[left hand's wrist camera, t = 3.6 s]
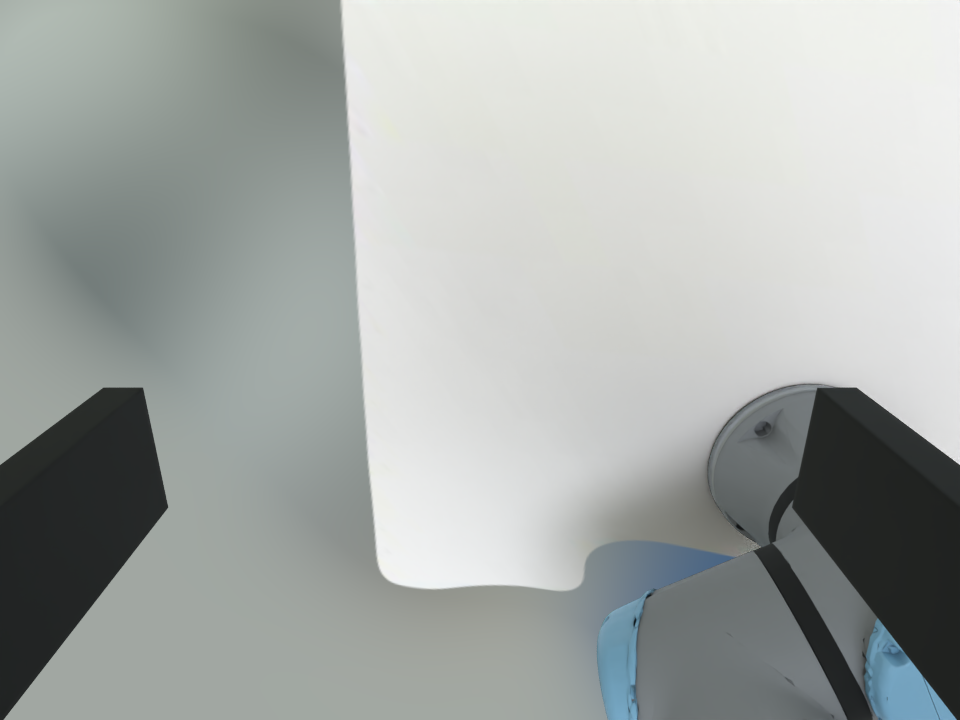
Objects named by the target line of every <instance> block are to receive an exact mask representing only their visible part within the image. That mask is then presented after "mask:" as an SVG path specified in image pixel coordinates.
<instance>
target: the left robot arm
mask: <svg viewBox="0 0 960 720" xmlns="http://www.w3.org/2000/svg"><path fill="white" fill-rule="evenodd" d="M708 481H709V487H710V491H711V493H712V496H713V498H714V500H715V502H716V504H717V505H718V507H719V509H720V511H721V512H722V514H723V515H724V516H725V518H726V519H727V520H728V521H729V522H730V523H731V524H732V525H733V526H734V527H735V528H736V529H737V530H738V531H739V532H740V533H742V534H743V535H744V536H746V537H747V538H749V539H751V540H752V541H754V542H756V543H757V544H758V545H759V546H761V548H759V549H757V550H754V551H751V552H748V553H746V554H743V555H741V556H738V557H736V558H734V559H731V560H729V561H726V562H724V563H721V564H719V565H716V566H714V567H712V568H709V569H707V570H704V571H702V572H699V573H697V574H695V575H692V576H690V577H687V578H685V579H682V580H680V581H677V582H675V583H673V584H670V585H668V586H665V587H663V588H660V589H658V590H656V589H652V590H649V591H647V592H645V593H644V594H643V595H642V597H641V598H639V599H637V600H635V601H633V602H630V603H628V604H626V605H624V606H622V607H620V608H618V609H615V610H614V611H612V612H611V613H610V614H609V615H608V616H607V617H606V618H605V620H604V622H603V624H602V626H601V629H600V631H599V635H598V641H597V662H598V673H599V679H600V686H601V691H602V696H603V701H604V705H605V710H606V714H607V718H608V720H878V719H879V720H960V465H959V464H958V463H956V462H955V461H954V460H952V459H951V458H950V457H948V456H947V455H946V454H944V453H943V452H942V451H940V450H939V449H938V448H936V447H935V446H934V445H932V444H931V443H930V442H928V441H927V440H926V439H924V438H923V437H922V436H920V435H919V434H918V433H916V432H915V431H914V430H912V429H911V428H910V427H908V426H907V425H906V424H904V423H903V422H902V421H900V420H899V419H898V418H896V417H895V416H894V415H892V414H891V413H890V412H888V411H887V410H886V409H884V408H883V407H882V406H880V405H879V404H878V403H876V402H875V401H873V400H872V399H871V398H869V397H868V396H867V395H865V394H864V393H863V392H861V391H860V390H859V389H857V388H835V387H831V386H825V385H814V384H809V385H797V386H791V387H786V388H783V389H779V390H776V391H773V392H771V393H768V394H766V395H764V396H762V397H760V398H758V399H756V400H755V401H753V402H751V403H750V404H748V405H747V406H746V407H744V408H743V409H742V410H741V411H739V412H738V413H737V414H736V415H735V416H734V417H733V418H732V419H731V420H730V421H729V422H728V424H727V425H726V426H725V427H724V429H723V430H722V431H721V433H720V435H719V436H718V438H717V440H716V442H715V444H714V446H713V449H712V452H711V455H710V459H709V465H708ZM167 508H168V504H167V500H166V495H165V490H164V485H163V481H162V476H161V471H160V466H159V462H158V457H157V452H156V447H155V443H154V438H153V433H152V429H151V424H150V419H149V414H148V409H147V405H146V400H145V396H144V390H143V388H103V389H101V390H100V391H99V392H97V393H96V394H95V395H93V396H92V397H91V398H89V399H88V400H86V401H85V402H84V403H82V404H81V405H80V406H79V407H77V408H76V409H74V410H73V411H72V412H71V413H69V414H68V415H66V416H65V417H64V418H63V419H61V420H60V421H59V422H57V423H56V424H55V425H53V426H52V427H50V428H49V429H48V430H46V431H45V432H44V433H42V434H41V435H40V436H38V437H37V438H36V439H35V440H33V441H32V442H30V443H29V444H28V445H27V446H25V447H24V448H22V449H21V450H20V451H19V452H17V453H16V454H15V455H13V456H12V457H10V458H9V459H8V460H6V461H5V462H4V463H2V464H1V465H0V720H4V718H5V717H6V716H7V714H8V713H9V712H10V711H11V709H12V708H13V707H14V705H15V704H16V703H17V702H18V700H19V699H20V698H21V696H22V695H23V694H24V692H25V691H26V690H27V689H28V687H29V686H30V685H31V684H32V682H33V681H34V680H35V678H36V677H37V676H38V674H39V673H40V672H41V671H42V669H43V668H44V667H45V665H46V664H47V663H48V662H49V660H50V659H51V658H52V656H53V655H54V654H55V653H56V651H57V650H58V649H59V647H60V646H61V645H62V644H63V642H64V641H65V640H66V638H67V637H68V636H69V634H70V633H71V632H72V631H73V629H74V628H75V627H76V626H77V624H78V623H79V622H80V620H81V619H82V618H83V617H84V615H85V614H86V613H87V611H88V610H89V609H90V607H91V606H92V605H93V604H94V602H95V601H96V600H97V598H98V597H99V596H100V595H101V593H102V592H103V591H104V589H105V588H106V587H107V586H108V584H109V583H110V582H111V580H112V579H113V578H114V577H115V575H116V574H117V573H118V571H119V570H120V569H121V568H122V566H123V565H124V564H125V562H126V561H127V560H128V558H129V557H130V556H131V555H132V553H133V552H134V551H135V549H136V548H137V547H138V546H139V544H140V543H141V542H142V540H143V539H144V538H145V537H146V535H147V534H148V533H149V531H150V530H151V529H152V528H153V526H154V525H155V524H156V522H157V521H158V520H159V519H160V517H161V516H162V515H163V513H164V512H165V511H166V510H167Z"/></svg>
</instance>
